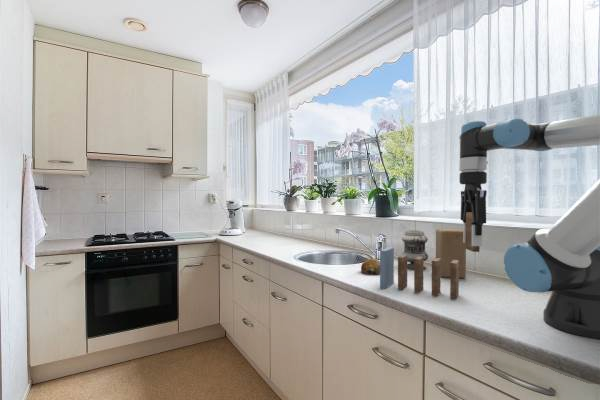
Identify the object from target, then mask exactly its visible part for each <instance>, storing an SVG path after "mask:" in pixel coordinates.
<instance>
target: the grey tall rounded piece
mask: <svg viewBox="0 0 600 400" xmlns="http://www.w3.org/2000/svg"><path fill="white" fill-rule="evenodd" d="M428 240H429V239H428V237H427V236H426V233H425V231H424V230H420V229H409V230H407V229H406V230H405V232H404V234H403V235H402V236H401V241H402V242H403V244H404V245H403V246H404V247H403V248H404V251H403V252H402V253H401V255H407V270H413V271H414V259H415V258H416V257H418V256H421V257H423V263H424V262H426V261H427V260H428V259H429V255H428V253H427V252H426V244H427V242H428ZM426 269H427V268H426V266H425V265H423V270H426Z"/></svg>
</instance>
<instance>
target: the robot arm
mask: <svg viewBox="0 0 600 400" xmlns="http://www.w3.org/2000/svg"><path fill="white" fill-rule="evenodd" d="M588 146H589V147H591V146H600V114H594V115H587V116H582V117H575V118H568V119H562V120H555V121H551V122H550V121H549V122H543V123H527V121H524V119H522V118H519V117H517V118H509V119H504V120H501V121H498V122H495V123H492V124H488V123H487V122H486V121H483V120H475V121H474V120H473V121H468V122H465V123H463V124H462V125H461V126H460V129H459V160H458V161H459V166H458V167H459V168H458V169H459V171H460V173H459V184H460V185H464V190H461V191H460V198H461V199H460V221H462V224H463V226H462V227H463V229H462V231H463V243H466V212H472V216H473V222H472V223H471V225H472V246H480V247H483V225H484V224H487V198H486V197H487V190H485V189H482V185H486V184H487V182H488V178H487V177H488V176H487V175H488V174H487V172H486V171H487V167H488V166H487V165H488V164H489V161H488V160H487V159H488V151H493V150H500V149H505V150H506V149H507V150H527V151H535V152H544V151H551V150H553V149H566V148H578V147H579V148H580V147H588ZM503 264H504V271H505V273H506V274H507V275H506V276H508V278H509V280H510V281H511V282H512V283H513V284H514V285H515V286H516V287H517V288H518V289H521V290H522V291H525V292H529V293H537V294H538V293H540V294H542V293H547V292H551V293H550V296H549V298H548V301H547V303H546V305H545V308H544V310H543V313H542V314H543V318H542V319H543V322H545V323H546V324H547V325H549V326H552V327H553V328H555V329H558V330H561V331H563V332H567V333H570V334H573V335H578V336H581V337H586V338H592V339H598V340H600V178H599V179H598V180H597V181H596V182H595V183H594V184H593V185H592V186H591V187H590V188H589V189H588V190H587V191H586V192H585V193H584V194H583V195H582V196H581V197H580V198H579V199H578V200H577V201H576V202H575V203H574V204H573V205H572V206H571V207H570V208H569V209H568V210H567V211H566V212H565V213H564V214H563V215H562V216H561V217H560V218H559V219H558V220H557V221H556V222H555V223H554V224H553V225H552V226H551V227H550V228H541V229H539V230H536V232H535V233H534V234H533V235H532V236H531V237H529V239H528V240H527V241H526V242H525V243H516V244H514V245H511V246H510V247H509V248H507V250H506V251H505V253H504V256H503Z"/></svg>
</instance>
